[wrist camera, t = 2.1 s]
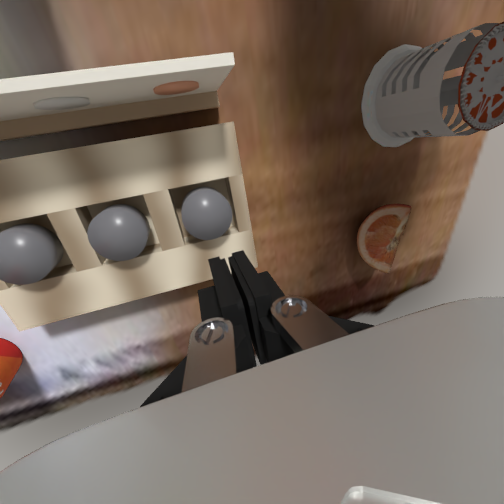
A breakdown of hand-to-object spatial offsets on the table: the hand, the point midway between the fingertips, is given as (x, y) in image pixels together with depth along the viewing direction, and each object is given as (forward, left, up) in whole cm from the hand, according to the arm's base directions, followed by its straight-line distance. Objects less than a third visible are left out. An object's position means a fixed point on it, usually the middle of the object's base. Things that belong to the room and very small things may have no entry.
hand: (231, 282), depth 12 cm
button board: (+7, 0, -17) cm, 18 cm away
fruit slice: (-21, +8, -17) cm, 28 cm away
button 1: (+15, 0, -14) cm, 21 cm away
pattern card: (+7, -10, -17) cm, 21 cm away
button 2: (0, 0, -14) cm, 14 cm away
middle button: (+7, 0, -14) cm, 16 cm away
